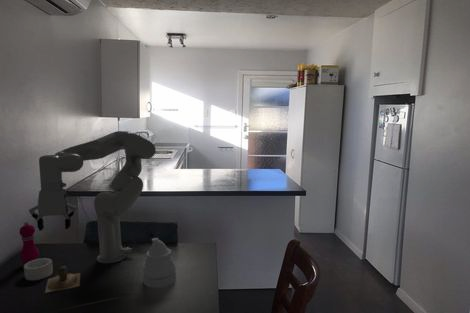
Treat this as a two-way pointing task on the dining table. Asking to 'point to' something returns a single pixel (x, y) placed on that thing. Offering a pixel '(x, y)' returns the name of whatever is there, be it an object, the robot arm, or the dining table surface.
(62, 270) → the lid
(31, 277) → the bowl
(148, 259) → the honey pot
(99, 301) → the dining table surface
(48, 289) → the mat
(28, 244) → the pepper mill
